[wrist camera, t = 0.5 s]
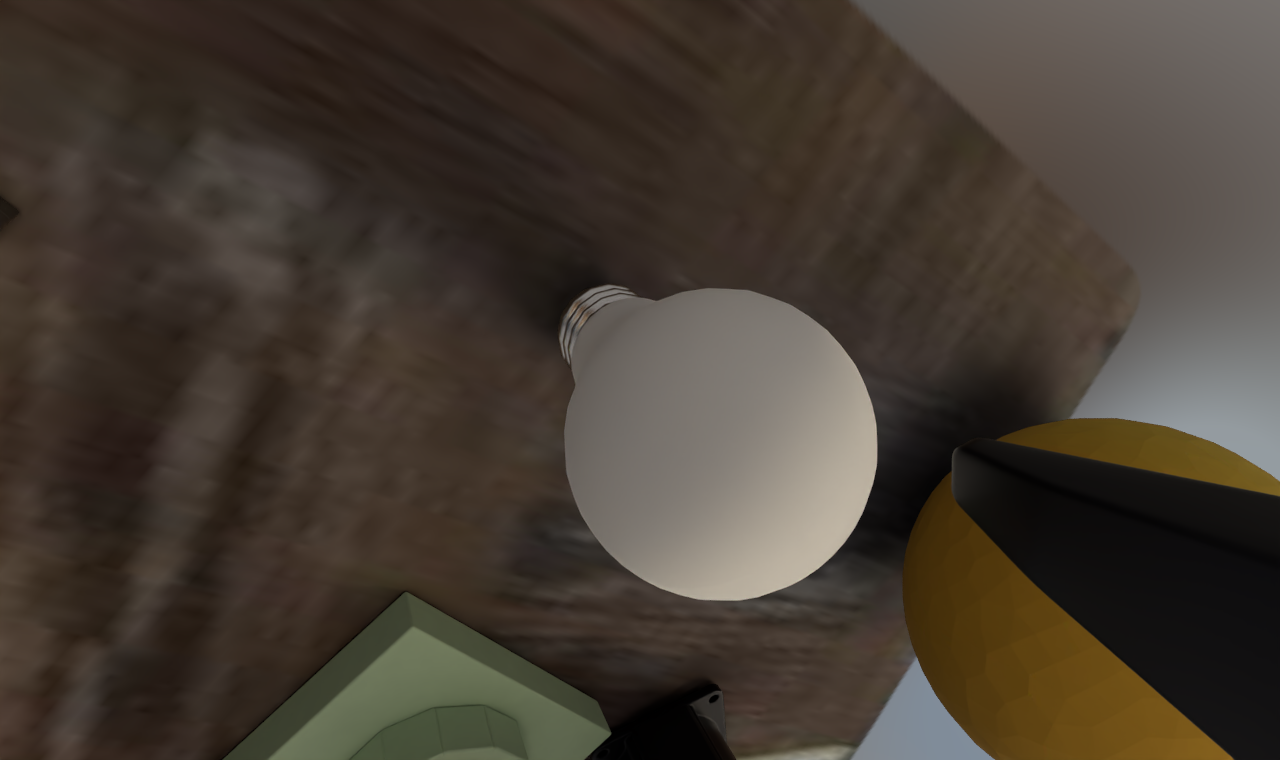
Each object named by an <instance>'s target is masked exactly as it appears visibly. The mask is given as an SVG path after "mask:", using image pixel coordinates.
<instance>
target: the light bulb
mask: <svg viewBox="0 0 1280 760" xmlns="http://www.w3.org/2000/svg"><path fill="white" fill-rule="evenodd" d="M557 331H558V342H559V347H560V353H561V356H562V358H563V359H564V361H565V362H566V363H567V365H568V366H569V368H570V369H571V370H572V373H573V377H574V381H575V388H574V391H573V394H572V396H571V399H570V402H569V405H568V409H567V415H566V421H565V428H564V441H565V459H566V473H567V476H568V480H569V483H570V487H571V490H572V493H573V496H574V499H575V501H576V504H577V506H578V509H579V511H580V513H581V515H582V517H583V519H584V520H585V522H586V523H587V525H588V527H589V528H590V530H591V532H592V533H593V535H594V536H595V537H596V538H597V539H598V541H599V542H600V543H601V544H602V546H603V547H604V548H605V549H606V551H607V552H608V553H610V554H611V555H612V556H613V557H614V558H615V559H616V560H617V561H618V562H619V563H620V564H621V565H623V566H624V567H625V568H627V569H628V570H630V571H631V572H632V573H634V574H635V575H637V576H638V577H640V578H641V579H643V580H645V581H647V582H649V583H651V584H653V585H655V586H657V587H658V588H661V589H664V590H667V591H670V592H673V593H675V594H678V595H682V596H686V597H690V598H695V599H699V600H745V599H750V598H756V597H760V596H763V595H765V594H768V593H771V592H774V591H777V590H780V589H782V588H785V587H788V586H790V585H792V584H794V583H796V582H798V581H800V580H802V579H804V578H805V577H807V576H808V575H810V574H811V573H813V572H814V571H816V570H817V569H818V568H820V567H821V566H822V565H823V564H824V563H825V562H826V561H828V560H829V559H830V558H831V557H832V556H833V555H834V554H835V553H836V552H837V551H838V549H839V548H840V547H841V546H842V545H843V544H844V543H845V541H846V540H847V538H848V537H849V536H850V534H851V533H852V531H853V530H854V528H855V527H856V525H857V523H858V521H859V519H860V517H861V515H862V513H863V511H864V508H865V505H866V503H867V500H868V497H869V494H870V491H871V488H872V485H873V482H874V477H875V472H876V467H877V428H876V420H875V415H874V411H873V406H872V403H871V400H870V397H869V394H868V392H867V389H866V386H865V384H864V382H863V379H862V377H861V375H860V373H859V371H858V369H857V367H856V365H855V364H854V362H853V361H852V360H851V358H850V357H849V356H848V354H847V353H846V352H845V350H844V349H843V347H842V346H841V345H840V344H839V343H838V342H837V341H836V339H835V338H834V337H833V336H832V335H831V334H830V333H829V332H828V330H826V329H825V328H824V327H822V326H821V325H820V324H818V323H817V322H816V321H815V320H813V319H812V318H811V317H809V316H808V315H806V314H804V313H803V312H801V311H800V310H798V309H797V308H795V307H793V306H792V305H790V304H788V303H785V302H782V301H780V300H777V299H774V298H772V297H768V296H765V295H762V294H759V293H756V292H753V291H749V290H736V289H718V288H705V289H698V290H692V291H685V292H681V293H678V294H675V295H672V296H670V297H667V298H664V299H661V300H659V301H654V300H651V299H646V298H642V297H641V296H640V295H638V294H637V293H636V292H634V291H633V290H631V289H630V288H628V287H627V286H623V285H617V284H610V283H607V284H603V285H598V286H594V287H590V288H586V289H585V290H584V291H582V292H581V293H579V294H578V295H576V296H575V297H574V298H572V299H571V301H570V302H569V304H568V305H567V306H566V308H565V309H564V311H563V312H562V314H561V318H560V322H559V326H558V330H557Z"/></svg>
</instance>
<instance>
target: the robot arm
mask: <svg viewBox="0 0 1280 760" xmlns="http://www.w3.org/2000/svg"><path fill="white" fill-rule="evenodd" d="M951 489H952V494H953V497H954V499H955V501H956V502H957V504H958V505H959V506H960V507H961V508H962V509H963V510H964V512H965V513H966V514H967V515H968V516H969V517H970V518H971V519H972V520H973V521H974V522H975V523H976V524H977V525H978V526H979V527H980V528H981V529H982V531H983V532H984V533H985V534H986V535H987V536H988V537H989V538H990V539H991V540H992V541H993V542H994V543H995V544H996V545H997V546H998V547H999V548H1000V549H1001V551H1002V552H1003V553H1004V554H1005V555H1006V556H1007V557H1008V558H1009V559H1010V560H1011V561H1012V562H1013V563H1014V564H1015V565H1016V566H1017V567H1018V568H1019V569H1020V571H1021V572H1022V573H1023V574H1024V575H1025V576H1026V577H1028V578H1029V579H1030V580H1031V581H1032V582H1033V583H1034V584H1035V585H1036V586H1037V587H1038V588H1039V589H1040V590H1041V591H1042V592H1043V593H1044V594H1046V595H1047V596H1048V597H1049V598H1050V599H1051V600H1052V601H1054V602H1055V603H1056V604H1057V605H1058V606H1059V607H1060V608H1062V609H1063V610H1064V611H1065V612H1066V613H1067V614H1068V615H1070V616H1071V617H1072V618H1073V619H1074V620H1075V621H1076V622H1078V623H1079V624H1080V625H1081V626H1082V627H1083V628H1084V629H1086V630H1087V631H1088V632H1089V633H1090V634H1091V635H1092V636H1094V637H1095V638H1096V639H1097V640H1098V641H1099V642H1100V643H1102V644H1103V645H1104V646H1105V647H1106V648H1107V649H1108V650H1110V651H1111V652H1112V653H1113V654H1114V655H1115V656H1116V657H1118V658H1119V659H1120V660H1121V661H1122V662H1123V663H1124V664H1126V665H1127V666H1128V667H1129V668H1130V669H1131V670H1132V671H1134V672H1135V673H1136V674H1137V675H1138V676H1139V677H1140V678H1142V679H1143V680H1144V681H1145V682H1146V683H1147V684H1148V685H1150V686H1151V687H1152V688H1153V689H1154V690H1155V691H1156V692H1158V693H1159V694H1160V695H1161V696H1162V697H1163V698H1164V699H1166V700H1167V701H1168V702H1169V703H1170V704H1171V705H1172V706H1174V707H1175V708H1176V709H1177V710H1178V711H1179V712H1180V713H1182V714H1183V715H1184V716H1185V717H1186V718H1187V719H1188V720H1190V721H1191V722H1192V723H1193V724H1194V725H1195V726H1197V727H1198V728H1199V729H1200V730H1201V731H1202V732H1203V733H1205V734H1206V735H1207V736H1208V737H1209V738H1210V739H1211V740H1213V741H1214V742H1215V743H1216V744H1217V745H1218V746H1219V747H1221V748H1222V749H1223V750H1224V751H1225V752H1226V753H1227V754H1229V755H1230V756H1231V757H1232V758H1233V759H1234V760H1280V496H1277V495H1272V494H1267V493H1262V492H1257V491H1251V490H1246V489H1241V488H1236V487H1231V486H1226V485H1221V484H1216V483H1211V482H1206V481H1201V480H1196V479H1191V478H1185V477H1180V476H1175V475H1170V474H1165V473H1160V472H1155V471H1150V470H1145V469H1140V468H1135V467H1130V466H1124V465H1119V464H1114V463H1109V462H1104V461H1099V460H1094V459H1089V458H1084V457H1079V456H1074V455H1069V454H1064V453H1058V452H1053V451H1048V450H1043V449H1038V448H1033V447H1028V446H1023V445H1018V444H1013V443H1008V442H1003V441H997V440H992V439H987V438H975V439H972V440H970V441H968V442H966V443H965V444H963V445H961V446H959V447H957V448H956V449H955V450H954V452H953V455H952V483H951ZM590 756H591V760H736V759H735V757H734V755H733V754H732V752H731V750H730V749H729V747H728V745H727V741H726V727H725V713H724V700H723V693H722V691H721V689H720V688H719V686H718V685H716V684H711V685H708V686H706V687H704V688H702V689H700V690H698V691H696V692H694V693H692V694H690V695H688V696H686V697H684V698H682V699H680V700H678V701H676V702H673V703H671V704H669V705H667V706H665V707H663V708H661V709H659V710H657V711H655V712H653V713H651V714H649V715H647V716H645V717H643V718H641V719H639V720H637V721H635V722H633V723H631V724H628V725H626V726H624V727H622V728H620V729H618V730H616V731H614V732H612V733H611V735H610V736H609V737H608V738H607V739H606V740H605V741H604V742H603V743H602V744H600V745H599V746H598V747H597V748H596V749H595V750H594V751H593V752H592V753H591V754H590Z"/></svg>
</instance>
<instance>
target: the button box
mask: <svg viewBox="0 0 1280 760" xmlns="http://www.w3.org/2000/svg"><path fill="white" fill-rule="evenodd" d="M610 735H611V731H610V729H609V726H608V724H607V722H606V720H605V718H604V715H603V713H602V711H601V709H600V706H599V704H598V702H597V701H596V700H594V699H593V698H591V697H589V696H587V695H586V694H584V693H582V692H580V691H579V690H577V689H575V688H573V687H572V686H570V685H568V684H566V683H565V682H563V681H561V680H559V679H558V678H556V677H554V676H552V675H551V674H549V673H547V672H546V671H544V670H542V669H540V668H539V667H537V666H535V665H533V664H532V663H530V662H528V661H526V660H525V659H523V658H521V657H519V656H518V655H516V654H514V653H512V652H511V651H509V650H507V649H505V648H504V647H502V646H500V645H499V644H497V643H495V642H493V641H492V640H490V639H488V638H486V637H485V636H483V635H481V634H479V633H478V632H476V631H474V630H472V629H471V628H469V627H467V626H465V625H464V624H462V623H460V622H458V621H457V620H455V619H453V618H451V617H450V616H448V615H446V614H445V613H443V612H441V611H439V610H438V609H436V608H434V607H432V606H431V605H429V604H427V603H425V602H424V601H422V600H420V599H418V598H417V597H415V596H413V595H411V594H410V593H408V592H404V593H403V594H402V595H401V596H400V597H399V598H398V599H397V600H396V601H395V602H394V603H392V604H391V605H390V606H389V607H388V608H387V609H386V610H385V611H384V612H383V613H382V614H380V615H379V616H378V617H377V618H376V619H375V620H374V621H373V622H372V623H371V624H370V625H368V626H367V627H366V628H365V629H364V630H363V631H362V632H361V633H360V634H359V635H358V636H357V637H355V638H354V639H353V640H352V641H351V642H350V643H349V644H348V645H347V646H346V647H345V648H343V649H342V650H341V651H340V652H339V653H338V654H337V655H336V656H335V657H334V658H333V659H331V660H330V661H329V662H328V663H327V664H326V665H325V666H324V667H323V668H322V669H321V670H320V671H318V672H317V673H316V674H315V675H314V676H313V677H312V678H311V679H310V680H309V681H308V682H306V683H305V684H304V685H303V686H302V687H301V688H300V689H299V690H298V691H297V692H296V693H294V694H293V695H292V696H291V697H290V698H289V699H288V700H287V701H286V702H285V703H284V704H283V705H281V706H280V707H279V708H278V709H277V710H276V711H275V712H274V713H273V714H272V715H271V716H269V717H268V718H267V719H266V720H265V721H264V722H263V723H262V724H261V725H260V726H259V727H257V728H256V729H255V730H254V731H253V732H252V733H251V734H250V735H249V736H248V737H247V738H246V739H244V740H243V741H242V742H241V743H240V744H239V745H238V746H237V747H236V748H235V749H234V750H232V751H231V752H230V753H229V754H228V755H227V756H226V757H225V758H224V759H223V760H584V759H585V758H587V757H588V756H589V755H590V754H591V753H592V752H593V751H594V750H595V749H596V748H597V747H598V746H599V745H600V744H602V743H603V742H604V741H605V740H606V739H607V738H608V737H609V736H610Z"/></svg>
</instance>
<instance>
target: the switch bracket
mask: <svg viewBox="0 0 1280 760" xmlns="http://www.w3.org/2000/svg"><path fill="white" fill-rule="evenodd" d="M18 214H19V211H18V210H17V209H15V208H14V207H13V206H11V205H10V204H8V203H7V202H5V201H4V200H3V199H1V198H0V230H2V229H3V228H4V227H5V226H6V225H7V224H8V223H10V222H11V221H12V220H13V219H14V218H15V217H16V216H17V215H18Z"/></svg>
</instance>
